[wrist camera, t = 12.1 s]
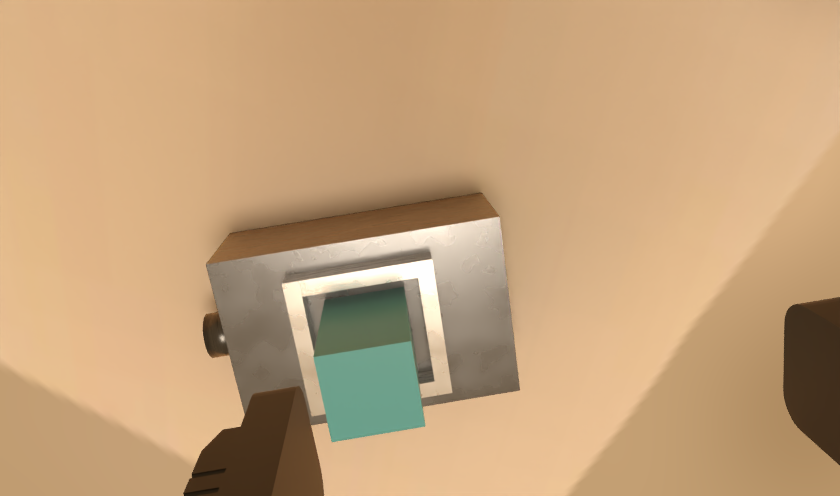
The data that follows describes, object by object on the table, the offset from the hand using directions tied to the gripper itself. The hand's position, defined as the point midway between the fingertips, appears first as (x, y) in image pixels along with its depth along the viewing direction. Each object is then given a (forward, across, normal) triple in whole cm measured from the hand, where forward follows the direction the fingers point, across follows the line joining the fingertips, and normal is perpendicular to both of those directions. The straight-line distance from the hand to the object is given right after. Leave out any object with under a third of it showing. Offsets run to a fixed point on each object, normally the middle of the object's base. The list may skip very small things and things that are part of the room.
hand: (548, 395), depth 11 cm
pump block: (+29, +5, +11) cm, 31 cm away
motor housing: (+36, +5, +11) cm, 38 cm away
